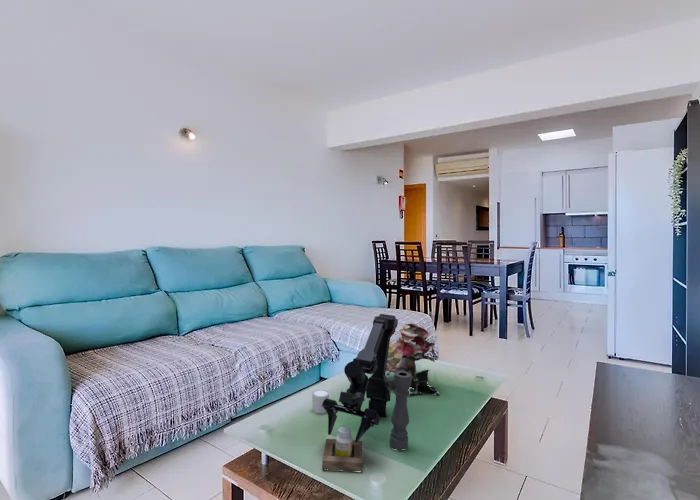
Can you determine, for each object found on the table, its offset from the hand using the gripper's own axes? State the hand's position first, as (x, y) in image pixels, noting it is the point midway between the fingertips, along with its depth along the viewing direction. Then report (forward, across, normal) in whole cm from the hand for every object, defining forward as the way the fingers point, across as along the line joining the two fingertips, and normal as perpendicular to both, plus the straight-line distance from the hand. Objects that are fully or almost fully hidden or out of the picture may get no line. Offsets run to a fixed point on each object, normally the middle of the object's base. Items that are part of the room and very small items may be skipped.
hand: (342, 438), depth 120 cm
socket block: (+4, 0, +6) cm, 8 cm away
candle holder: (-7, +14, +18) cm, 23 cm away
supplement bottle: (+4, 0, +7) cm, 8 cm away
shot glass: (-13, -21, +24) cm, 35 cm away
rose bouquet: (-42, +3, +54) cm, 69 cm away
